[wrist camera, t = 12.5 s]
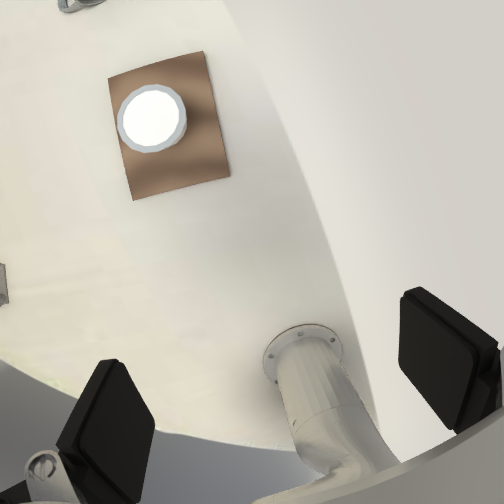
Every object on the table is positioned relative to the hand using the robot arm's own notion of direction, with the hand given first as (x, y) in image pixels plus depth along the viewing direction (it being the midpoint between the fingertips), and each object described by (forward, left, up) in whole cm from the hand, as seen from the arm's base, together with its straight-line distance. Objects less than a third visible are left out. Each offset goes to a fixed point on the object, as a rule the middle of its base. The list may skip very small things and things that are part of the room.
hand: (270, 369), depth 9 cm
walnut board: (+12, +5, -30) cm, 32 cm away
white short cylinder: (+12, +6, -28) cm, 31 cm away
